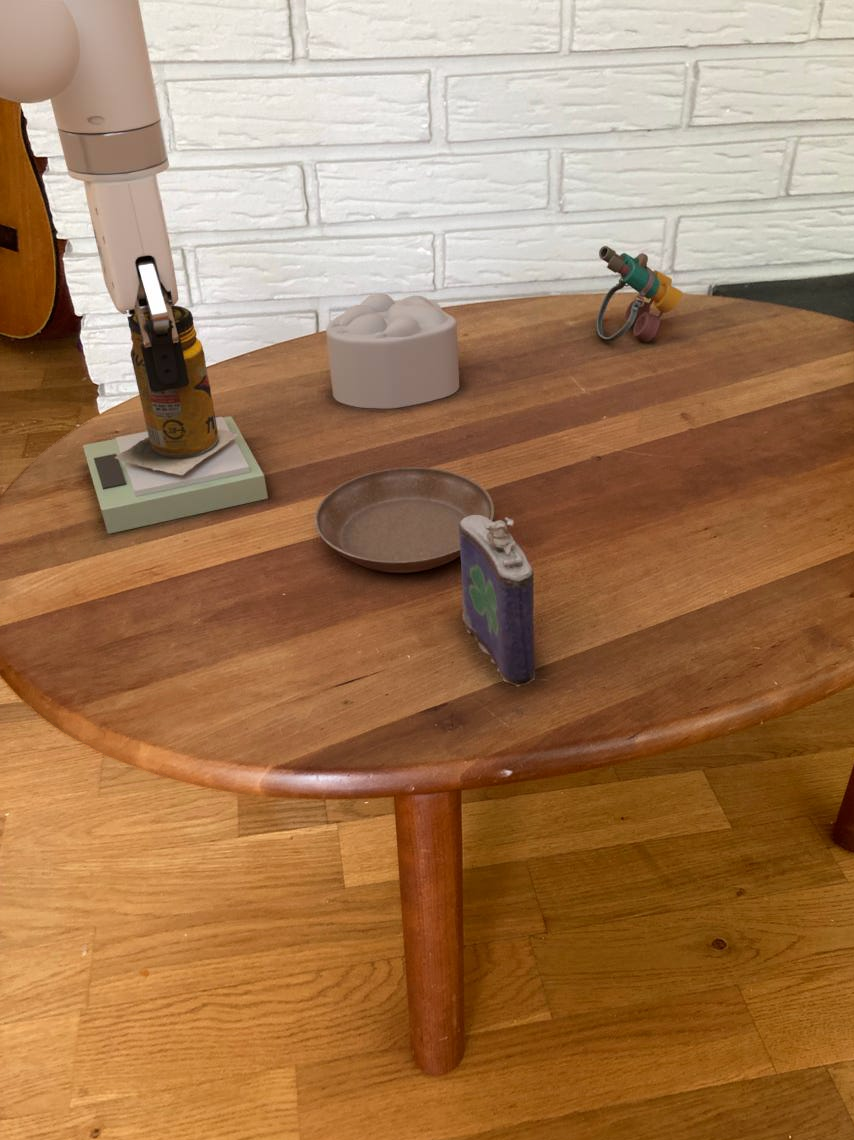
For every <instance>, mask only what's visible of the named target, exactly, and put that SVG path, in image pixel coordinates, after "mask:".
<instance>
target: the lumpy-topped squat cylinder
mask: <svg viewBox="0 0 854 1140" xmlns="http://www.w3.org/2000/svg"><path fill="white" fill-rule="evenodd" d="M325 335H326V345H327V353H328V363H329V372H330V381H331V382H330V383H331V390H332V397H333V398H334V400H335V401H337V402H339V403H341V404H344V405H347V406H350V407H356V408H363V409H398V408H404V407H410V406H416V405H419V404H424V403H425V404H426V403H428V402H429V403H430V402H432V401H435V400H439V399H444V398H446V397H449V396H452V395H453V394H455V393H456V392H458V390H459V389H460V371H459V370H460V369H459V343H458V342H459V341H458V323H457V319H456V318H455V317H453V315H451V314H449V313H447V312H445V311H444V310H443V308H442V307H441V306H440V304H439V303H438V302H436V301H435V300H433V299H428V298H427V297H425V296H422V295H411V296H407V297H404V298H402V299H398V300H394V299H393V298H392V297H391V296H390V295H388V294H386V293H374V294H371V295H369V296H368V297H366V298H365V299H364V300H363V301H361V303H360V304H356V305H353V306H350V307H349V308H347V309H346V310H345V312H343V313H342V314H341V315H339V316H337V317H335V318H334V319H333V320H331V321H330V323H328V325H327V326H326V329H325Z"/></svg>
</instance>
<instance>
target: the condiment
mask: <svg viewBox="0 0 854 1140" xmlns="http://www.w3.org/2000/svg"><path fill="white" fill-rule="evenodd" d="M171 309H172V313H173V317H174V321H175V325H176V330H177V334H178V338H180V340H181V344H182V349H183V354H184V360H185V365H186V370H187V375H188V380H189V384H188V385H187V386H186V387H181V388H176V389H170V390H165V391H159V392H153V391H151V389H150V387H149V383H148V378H147V374H146V369H145V365H144V360H143V356H142V351H141V347H140V345H141V344H143V340H142V336H141V332H140V328H139V324H138V320H137V316H136V313H133V314H132V315H129V316H130V318H129V322H128V328H129V330H131V331H130V340H131V342H132V347H131V350H130V358H131V363H132V367H133V373H134V376H135V381H136V386H137V390H138V395H139V400H140V403H141V408H142V413H143V417H144V422H145V425H146V430H147V431H148V436H149V437H147V438H145V439H144V440H141V441H139V442H138V443H137V444H136V445H134V446H133V447H131V448H130V449H128V450H127V451H124V452H122V453H120V454H119V455H118V456H116V457H115V458H116V459H119V460H122V461H124V462H128V463H131V464H136V465H138V466H142V467H147V468H151V469H153V470H161V471H164V472H167V473H174V474H178V475H183V474H185V473H186V472H187V471H188V470H190V469H192V468H193V467H194V466H195V465H196V464H198V463H199V462H201V461H202V460H203V459H205V458H207V457H208V456H210V455H212V454H213V453H215V452H216V451H217V450H219V449H220V448H221V447H223V446H224V445H226V444H227V443H228V442H229V441H231V440H233V439H234V438H235V437H236V436H237V435H238V434H239V433H234V432H230V431H224V430H217V424H216V418H217V417H216V412H215V408H214V401H213V398H212V391H211V384H210V379H209V373H208V370H207V364H206V356H205V351H204V348H203V344H202V342H201V340H200V339H199V338H197V330H196V328H195V323H194V317H193V313H192V312H191V311H190V310H189V309H188V308H186V307H183V306H181V305H174V306H171ZM144 317H145V321H146V324H147V320H151V318H150V314H144Z"/></svg>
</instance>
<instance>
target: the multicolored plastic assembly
mask: <svg viewBox="0 0 854 1140" xmlns="http://www.w3.org/2000/svg"><path fill="white" fill-rule="evenodd" d="M598 257H599V258H600V259H601V260H602V261H604V262H605V263H607V266H606V269H608V270H610V271H611V272H613V273H615V274H616V273H618V274H619V275H620V278H619V279H618V283H616V284H615V285H613V286H612V287H611V288H610V289H609V290H608V292H607V293H606V295H605V296H604V298H603V301H602V303H601V305H600V307H599V310H598V314H597V316H596V331H597V334H598V336H599V337H600V338H602V339H604V340H605V341H607V342H615V341H616V340H618V339H620V338H621V337H622V336H624V334H626V333H627V332H628V331H629V330H630V329H631V327H633V331H632V332H633V333H632V334H633V335H634V336H635V337H637V338H638V339H640V340H641V341H643V342H644V343H649V342H650V341H651V340H653V338H654V337H655V336H656V334H657V332H658V330H659V327H660V322H661V318H662V316H663V315H664V314H666V313H670V312H671V311H672V310H674V308H676V307H677V305H679V303H680V302H681V300H682V298H683V291H682V290H680V289H678V288H676V287H675V286H673V285H672V283H673V279H672V278H671V277H669V276H667V275H666V274H664V273H661V272H660V271H658V270H656V269H654V270H652V268H650V267H649V266H648V261H649V257H648V254H646V253H643V252H641V253H639V254H638V255H637V256H634V257H632V256H631V255H629V254H628V253H626V252H623V253H620V255H619V254H618V253H617V251H616V250H614V249H613V248H611V247H609V246H607V245H603V246H601V248H600V249H599V251H598ZM625 287H631V288H632V289H633V290H635V292H637V293H638V294H636V295H634V297H633V298H632V301H631V302H630V303H629V305H628V306H627V309H626V311H625V314H624V322H625V324H624V325H623V326H622V327H621V328H620V329H619V330H618V331H617V332H616V333H614V334H613V335H612V336H609V337H607V336H605V335H604V332H603V318H604V315H605V312H606V309H607V308H608V304H609V303H610V300H611V298H613V296H614V294H616V293H617V292H618V291H620V290H622V289H623V288H625ZM636 298H637V299H636ZM645 299H647V300H649V302H646V301H645ZM652 304H653V306H654V307H655V308H656V309H657V310H658V311H659V314H658V315H656V314H653V313H650V311H651V306H652Z"/></svg>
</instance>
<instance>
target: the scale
mask: <svg viewBox="0 0 854 1140" xmlns="http://www.w3.org/2000/svg"><path fill="white" fill-rule="evenodd" d="M215 418H216V424H217V430H224V431H230V432H234V433H239V434H238V435H237V436H236V437H235V438H234V439H233V440H231V441H229V442H228V443H227V444H226V445H224V446H223V447H221V448H220V449H219V450H217V451H216V452H215V453H213V454H212V455H210V456H208V457H207V458H205V459H203V460H202V461H201V462H199V463H198V464H196V465H195V466H194V467H193V468H192V469H190V470H188V471H187V472H186V473H185V474H183V475H178V474H174V473H167V472H164V471H161V470H153V469H151V468H147V467H142V466H138V465H136V464H131V463H128V462H124V461H122V460H119V459H116V458H115V457H116V456H118V455H119V454H120V453H122V452H124V451H127V450H128V449H130V448H131V447H133V446H134V445H136V444H137V443H138V442H139V441H141V440H144V439H145V438H147V437H149V436H148V431H142V432H136V433H132V434H126V435H122V436H121V435H120V436H116V437H115V438H112V439H108V440H102V441H98V442H92V443H87V444H83V445H82V449H83V452H84V455H85V458H86V462H87V464H88V465H87V466H88V470H89V473H90V476H91V480H92V484H93V487H94V491H95V493H96V497H97V500H98V504H99V508H100V511H101V515H102V517H103V518H102V519H103V521H104V525H105V528H106V533H107V534H108V535H110V534H116V533H118V532H123V531H128V530H133V529H137V528H142V527H146V526H147V527H148V526H151V525H156V524H160V523H165V522H168V521H173V520H178V519H183V518H186V517H191V516H195V515H200V514H205V513H210V512H214V511H218V510H223V509H227V508H232V507H236V506H241V505H245V504H251V503H254V502H258V501H263V500H268V499H269V496H268V491H267V490H268V489H267V483H266V478H265V477H266V476H265V474H264V472H263V470H262V469H261V467H260V465H259V464H258V462H257V460H256V458H255V456H254V454H253V452H252V451H251V449H250V447H249V445H248V443H247V441H246V439H245V438H244V436H243V435H242V432H241V431H240V429H239V427H238V425H237V424H236V422H235V420H234V418H233V416H232V415H229V416H224V417H223V416H218V417H215Z"/></svg>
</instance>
